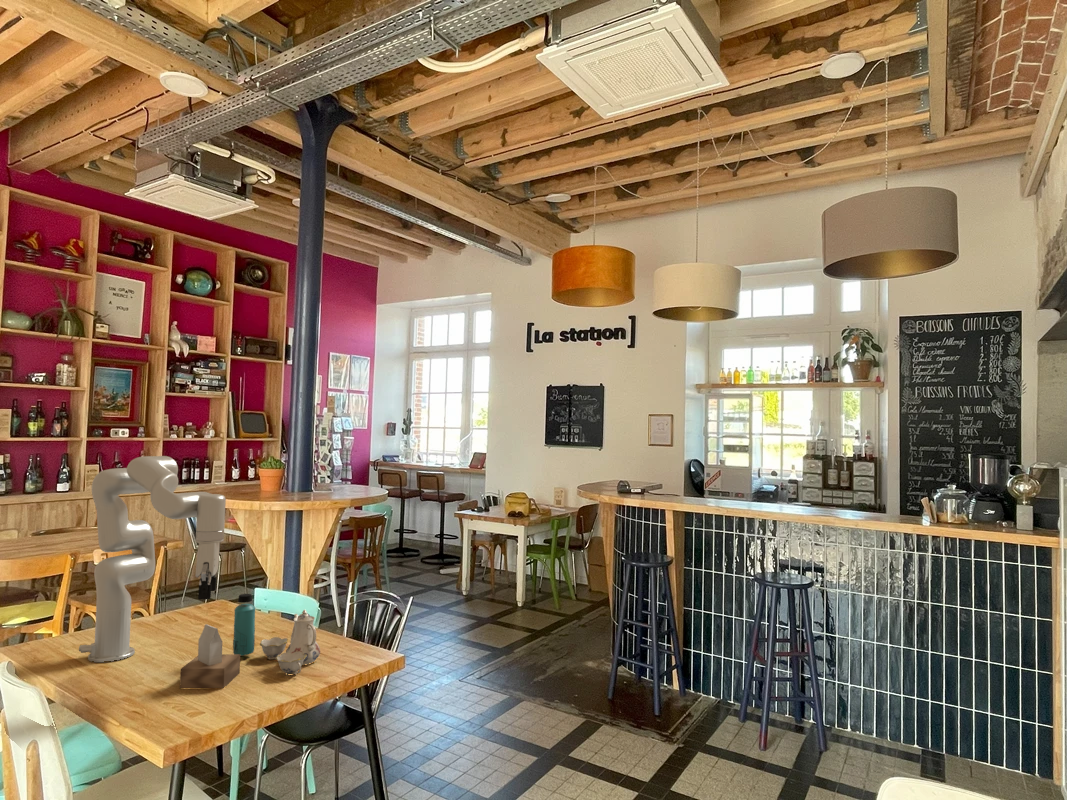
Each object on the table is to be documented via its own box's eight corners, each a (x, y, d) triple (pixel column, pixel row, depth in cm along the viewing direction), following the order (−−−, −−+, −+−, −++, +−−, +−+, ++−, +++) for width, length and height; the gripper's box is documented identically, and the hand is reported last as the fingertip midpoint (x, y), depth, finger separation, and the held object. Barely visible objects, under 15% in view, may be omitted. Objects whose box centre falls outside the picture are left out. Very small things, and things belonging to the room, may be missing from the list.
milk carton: (209, 665, 189) (210, 630, 189) (197, 660, 193) (199, 625, 193) (221, 662, 192) (222, 627, 192) (210, 657, 196) (211, 622, 196)
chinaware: (251, 662, 213) (247, 611, 212) (301, 646, 224) (298, 597, 224) (286, 687, 192) (282, 631, 192) (339, 668, 204) (336, 615, 203)
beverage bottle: (258, 655, 214) (261, 593, 215) (243, 661, 208) (246, 597, 209) (242, 652, 217) (245, 591, 218) (227, 659, 210) (229, 595, 211)
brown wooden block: (179, 690, 186) (180, 668, 186) (198, 674, 198) (199, 654, 198) (223, 690, 186) (224, 668, 187) (239, 674, 198) (240, 654, 199)
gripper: (201, 532, 203) (198, 588, 202) (190, 541, 186) (187, 603, 185) (227, 531, 205) (225, 587, 204) (219, 540, 188) (216, 601, 188)
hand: (207, 594), depth 195 cm, fingers open, 9 cm apart
